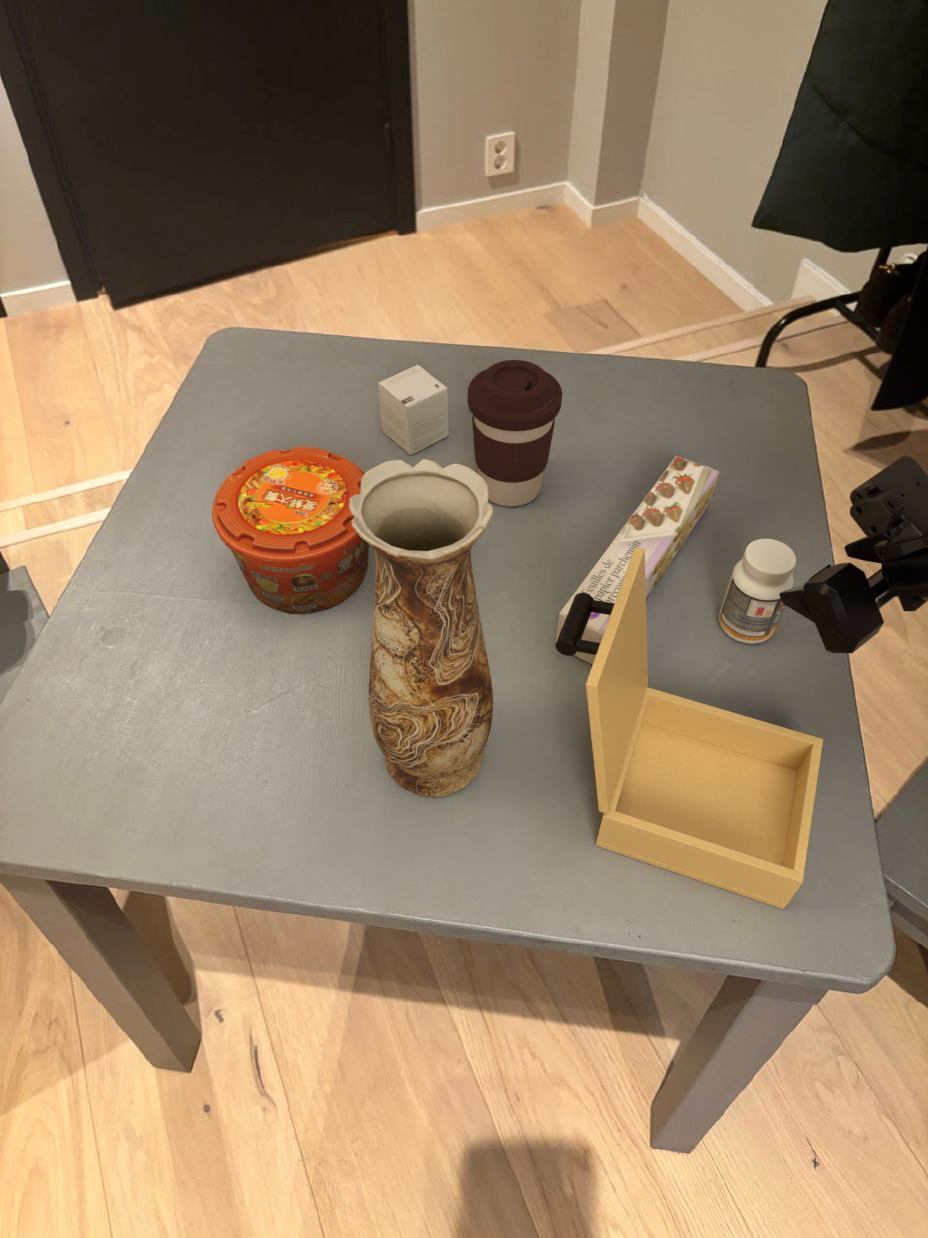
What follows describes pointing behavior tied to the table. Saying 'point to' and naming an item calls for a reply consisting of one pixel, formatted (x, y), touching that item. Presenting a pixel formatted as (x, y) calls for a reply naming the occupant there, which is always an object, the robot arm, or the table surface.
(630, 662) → the upright wooden panel
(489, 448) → the coffee cup
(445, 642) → the vase
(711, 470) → the box
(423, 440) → the product carton
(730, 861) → the shallow kraft tray
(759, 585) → the pill bottle
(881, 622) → the robot arm
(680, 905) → the table surface
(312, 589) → the food container
